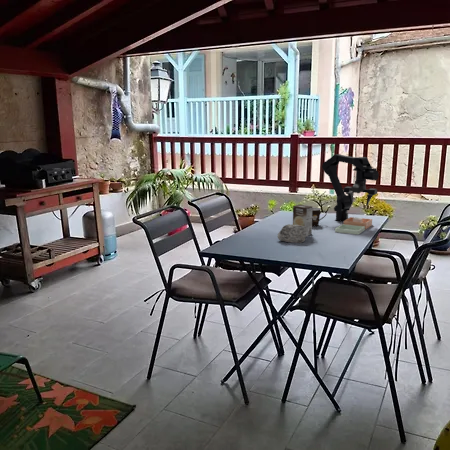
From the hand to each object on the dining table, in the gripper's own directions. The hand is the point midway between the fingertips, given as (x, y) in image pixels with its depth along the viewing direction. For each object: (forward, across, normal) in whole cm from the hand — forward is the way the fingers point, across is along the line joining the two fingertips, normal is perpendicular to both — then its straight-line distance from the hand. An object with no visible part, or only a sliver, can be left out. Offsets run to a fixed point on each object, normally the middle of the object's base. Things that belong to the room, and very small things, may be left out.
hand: (359, 204), depth 274 cm
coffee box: (+12, -17, -40) cm, 45 cm away
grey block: (+11, +2, -7) cm, 13 cm away
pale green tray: (+12, +3, -21) cm, 24 cm away
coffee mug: (+12, -20, -16) cm, 29 cm away
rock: (+12, -16, -55) cm, 58 cm away
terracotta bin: (+12, +2, -7) cm, 14 cm away
